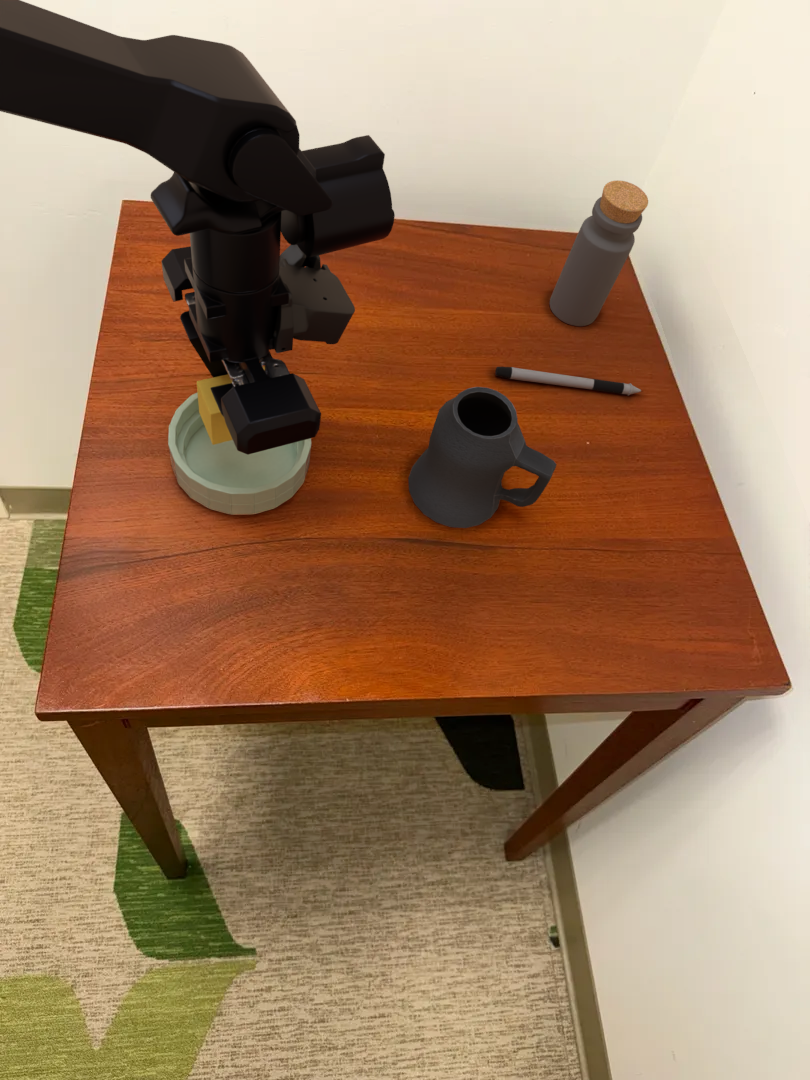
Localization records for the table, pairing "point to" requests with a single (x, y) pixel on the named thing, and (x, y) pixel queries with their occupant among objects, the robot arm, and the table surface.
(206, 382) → the sponge
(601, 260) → the bottle
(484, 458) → the mug
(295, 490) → the bowl
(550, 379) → the pen
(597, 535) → the table surface
